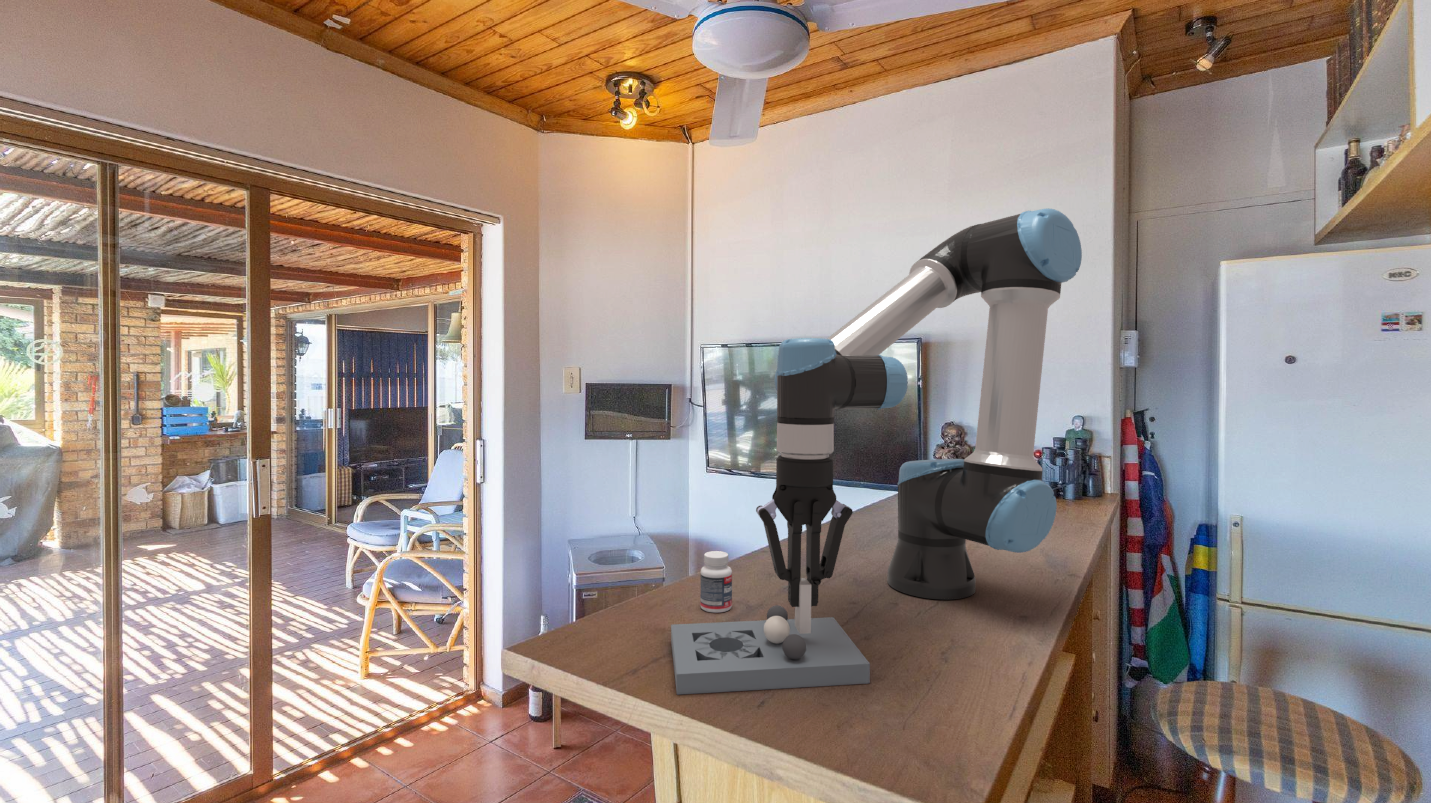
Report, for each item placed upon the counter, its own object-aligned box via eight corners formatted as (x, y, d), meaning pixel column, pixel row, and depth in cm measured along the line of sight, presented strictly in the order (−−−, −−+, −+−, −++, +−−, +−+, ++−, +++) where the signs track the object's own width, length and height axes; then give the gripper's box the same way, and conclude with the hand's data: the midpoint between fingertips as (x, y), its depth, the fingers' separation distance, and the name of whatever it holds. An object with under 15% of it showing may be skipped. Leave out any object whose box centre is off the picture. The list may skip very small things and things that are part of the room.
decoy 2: (802, 652, 81) (802, 629, 81) (808, 663, 78) (809, 639, 78) (779, 653, 81) (780, 630, 80) (785, 664, 78) (785, 640, 77)
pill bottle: (728, 614, 100) (728, 559, 100) (697, 612, 101) (697, 558, 101) (734, 602, 105) (734, 550, 105) (704, 600, 106) (704, 549, 106)
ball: (757, 617, 85) (766, 641, 86) (763, 628, 82) (772, 652, 82) (781, 607, 86) (789, 631, 86) (787, 617, 82) (796, 641, 82)
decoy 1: (785, 622, 91) (785, 601, 91) (790, 630, 88) (790, 609, 88) (764, 623, 90) (765, 602, 90) (769, 631, 87) (769, 610, 87)
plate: (833, 633, 93) (833, 617, 93) (869, 683, 78) (869, 663, 78) (671, 641, 90) (671, 624, 90) (676, 694, 75) (676, 674, 75)
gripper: (843, 451, 88) (840, 616, 89) (751, 451, 86) (750, 620, 87) (861, 458, 80) (859, 638, 81) (762, 459, 79) (760, 643, 80)
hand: (802, 629), depth 84 cm, fingers closed
